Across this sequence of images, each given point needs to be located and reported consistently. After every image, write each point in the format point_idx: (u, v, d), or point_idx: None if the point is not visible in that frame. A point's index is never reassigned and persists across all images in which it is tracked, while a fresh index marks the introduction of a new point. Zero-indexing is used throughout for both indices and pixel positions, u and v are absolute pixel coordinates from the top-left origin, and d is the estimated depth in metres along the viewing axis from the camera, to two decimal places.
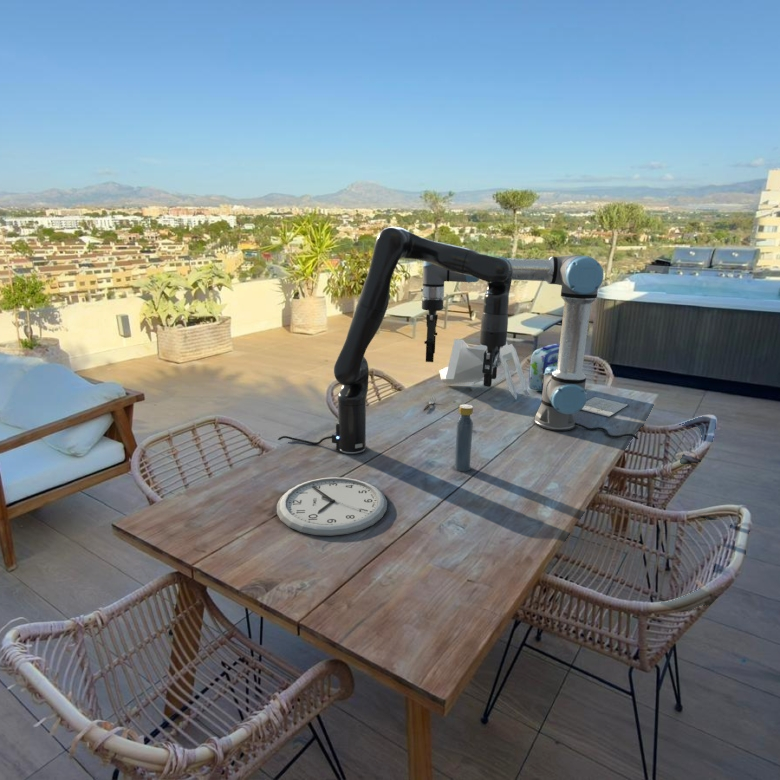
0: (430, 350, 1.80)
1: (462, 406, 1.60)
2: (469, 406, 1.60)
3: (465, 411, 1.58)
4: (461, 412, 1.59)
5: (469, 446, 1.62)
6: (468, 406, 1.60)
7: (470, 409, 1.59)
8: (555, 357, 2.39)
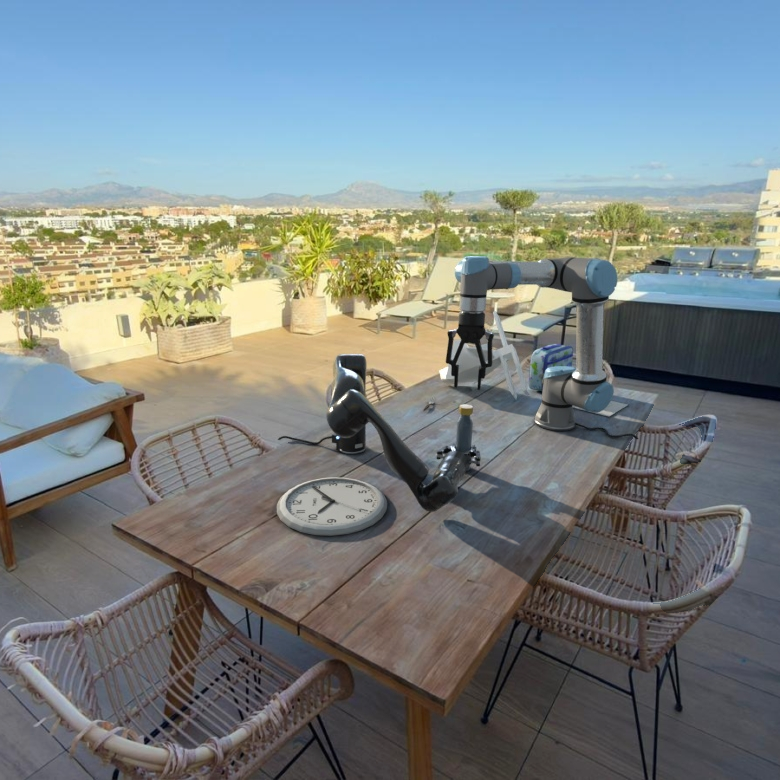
0: (451, 372, 1.58)
1: (462, 406, 1.60)
2: (469, 406, 1.60)
3: (465, 411, 1.58)
4: (461, 412, 1.59)
5: (469, 446, 1.62)
6: (468, 406, 1.60)
7: (470, 409, 1.59)
8: (555, 357, 2.39)
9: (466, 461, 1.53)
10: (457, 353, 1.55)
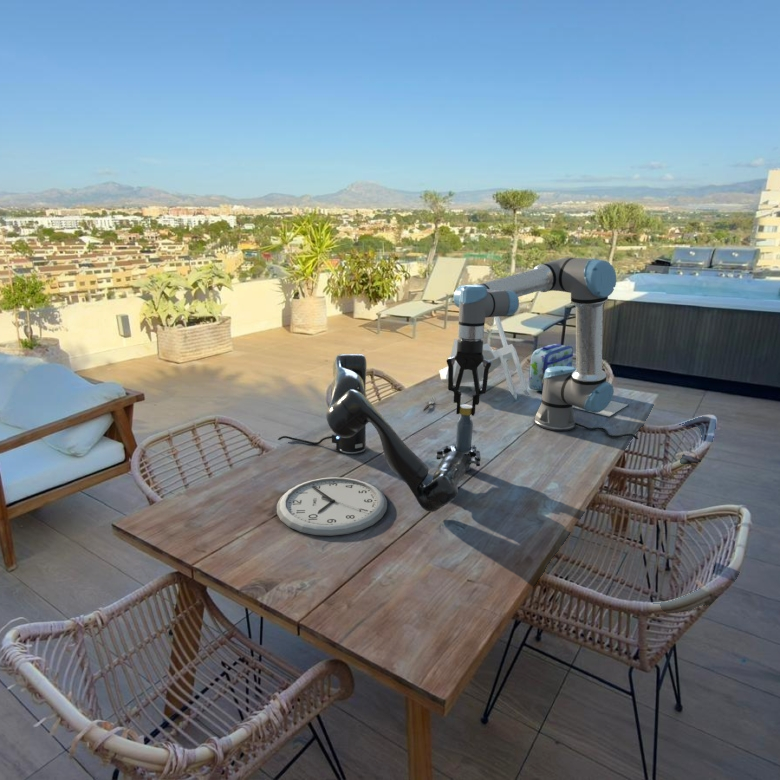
0: None
1: (462, 406, 1.60)
2: (469, 406, 1.60)
3: (465, 411, 1.58)
4: (461, 412, 1.59)
5: (469, 446, 1.62)
6: (468, 406, 1.60)
7: (470, 409, 1.59)
8: (555, 357, 2.39)
9: (466, 461, 1.53)
10: (458, 380, 1.57)
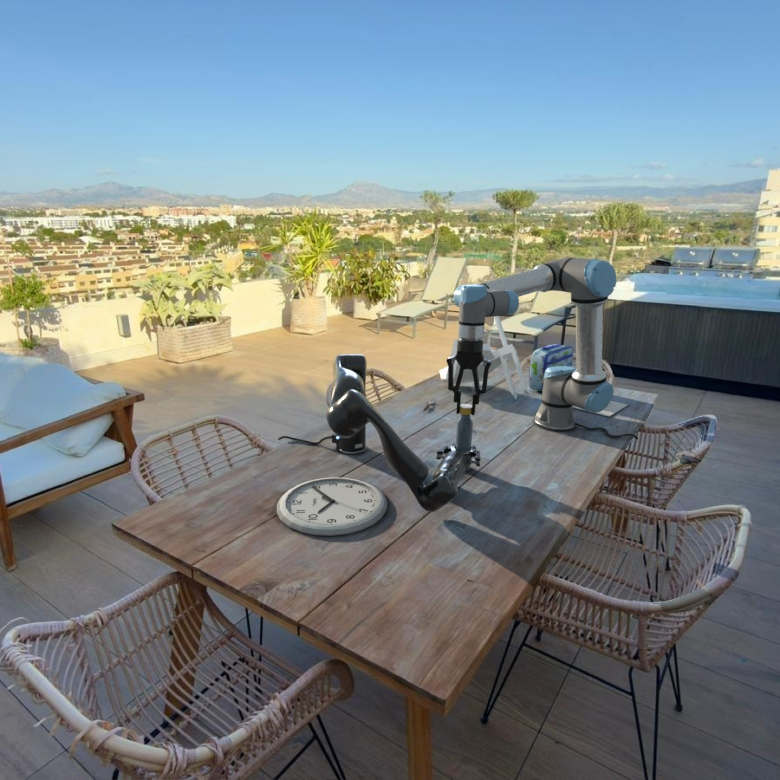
0: None
1: (468, 406, 1.59)
2: (464, 404, 1.61)
3: None
4: (471, 411, 1.60)
5: (469, 446, 1.62)
6: (465, 405, 1.61)
7: None
8: (555, 357, 2.39)
9: (466, 461, 1.53)
10: (458, 380, 1.57)
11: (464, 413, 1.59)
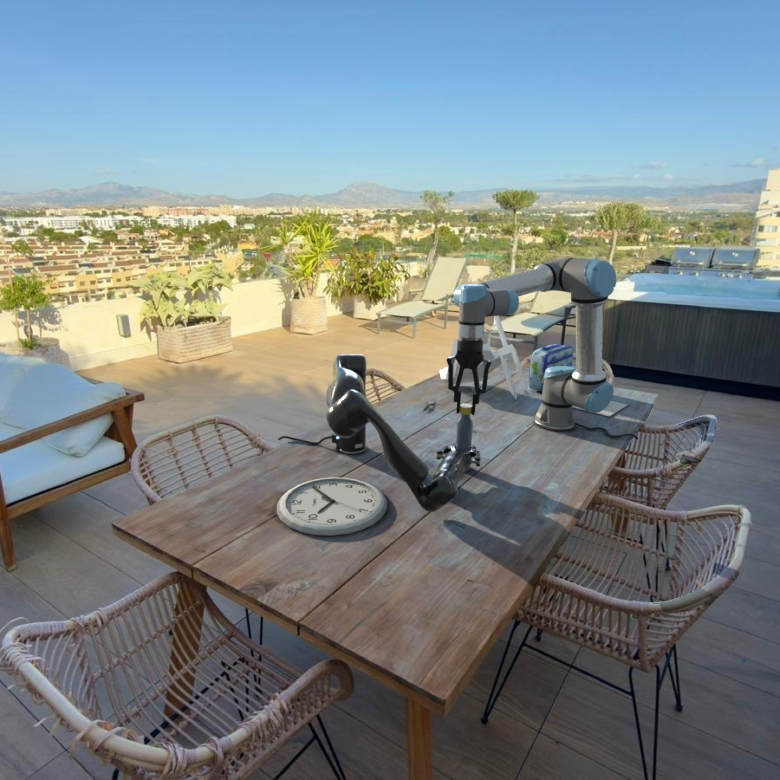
0: None
1: (467, 404, 1.61)
2: (463, 406, 1.59)
3: None
4: None
5: (469, 446, 1.62)
6: (464, 405, 1.60)
7: None
8: (555, 357, 2.39)
9: (466, 461, 1.53)
10: (458, 379, 1.57)
11: None
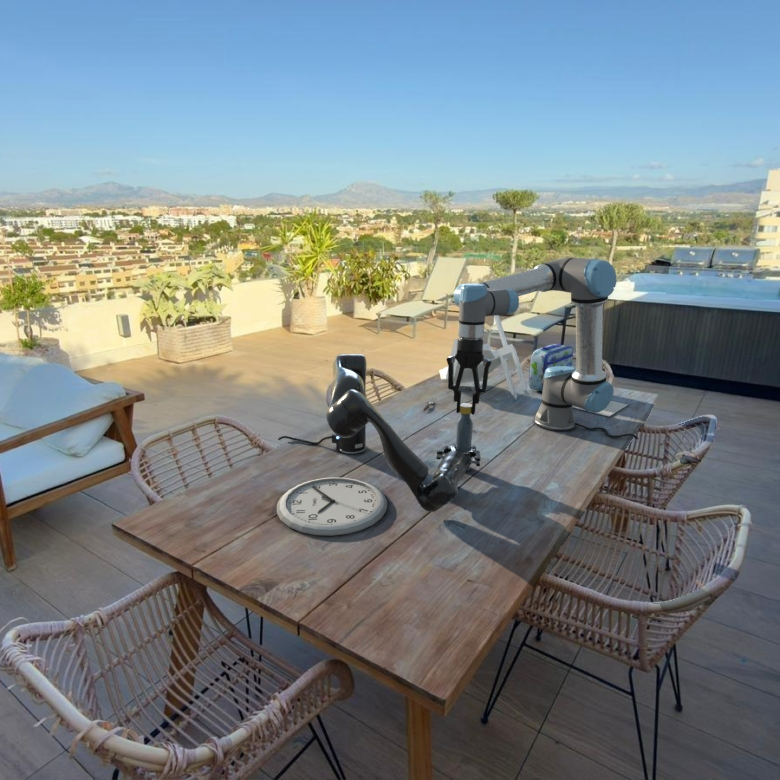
0: None
1: (462, 404, 1.60)
2: (469, 405, 1.59)
3: (462, 409, 1.59)
4: (460, 410, 1.60)
5: (469, 446, 1.62)
6: (468, 405, 1.60)
7: (468, 408, 1.58)
8: (555, 357, 2.39)
9: (466, 461, 1.53)
10: (458, 379, 1.57)
11: None
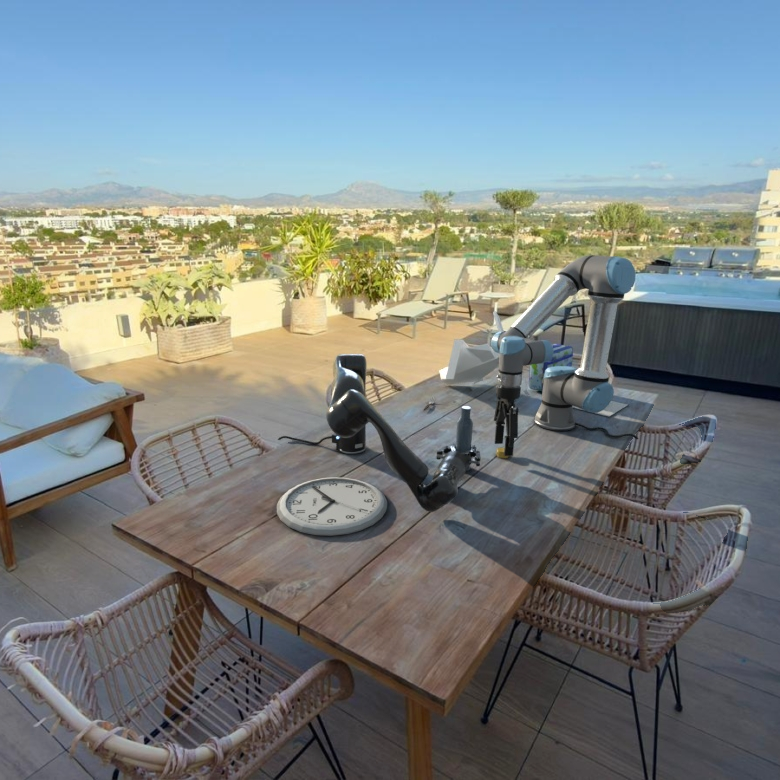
0: (511, 444, 1.68)
1: None
2: (503, 448, 1.76)
3: None
4: (507, 456, 1.74)
5: (469, 446, 1.62)
6: (503, 448, 1.76)
7: None
8: (555, 357, 2.39)
9: (466, 461, 1.53)
10: None
11: (499, 456, 1.74)
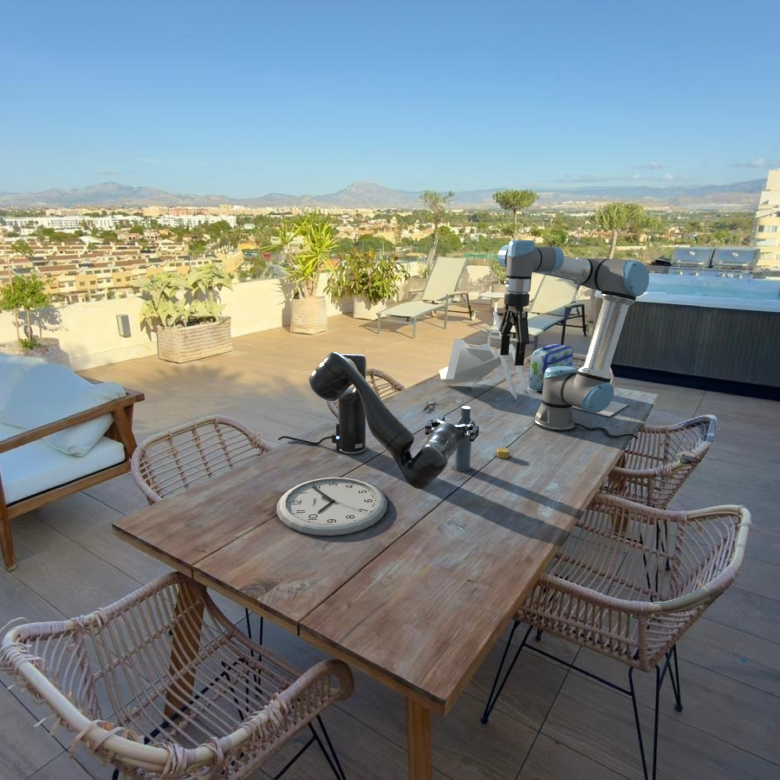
0: (522, 352, 1.57)
1: (504, 451, 1.74)
2: (503, 448, 1.76)
3: None
4: (507, 456, 1.74)
5: (469, 446, 1.62)
6: (503, 448, 1.76)
7: None
8: (555, 357, 2.39)
9: (459, 434, 1.37)
10: None
11: (499, 456, 1.74)
